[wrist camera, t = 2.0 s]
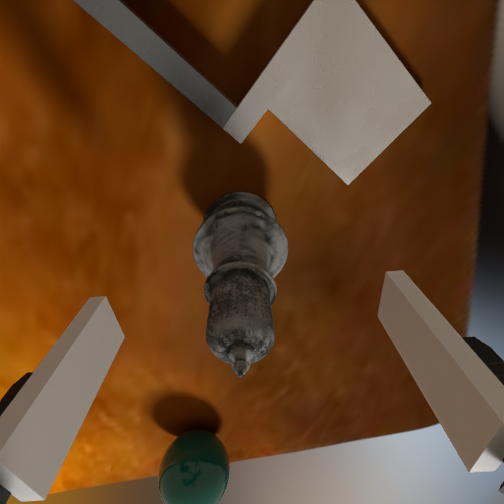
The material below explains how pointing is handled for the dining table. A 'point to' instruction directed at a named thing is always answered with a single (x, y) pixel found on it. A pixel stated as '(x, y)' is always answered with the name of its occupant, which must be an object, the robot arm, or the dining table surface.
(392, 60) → the flanged square frame
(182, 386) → the dining table surface
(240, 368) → the grey chess piece
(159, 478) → the sphere
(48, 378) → the robot arm
